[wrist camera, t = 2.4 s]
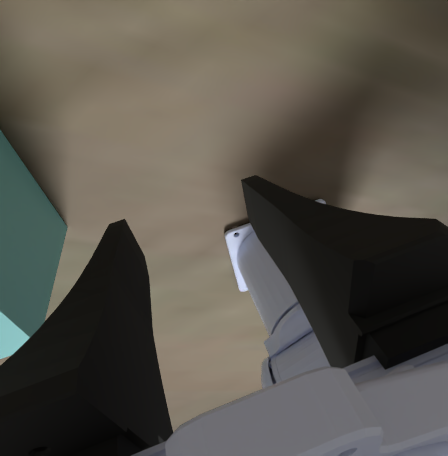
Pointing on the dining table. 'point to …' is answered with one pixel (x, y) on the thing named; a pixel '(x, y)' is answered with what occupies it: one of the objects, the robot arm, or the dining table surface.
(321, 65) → the dining table surface
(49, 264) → the teal slab
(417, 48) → the dining table surface
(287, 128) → the dining table surface
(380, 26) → the dining table surface
